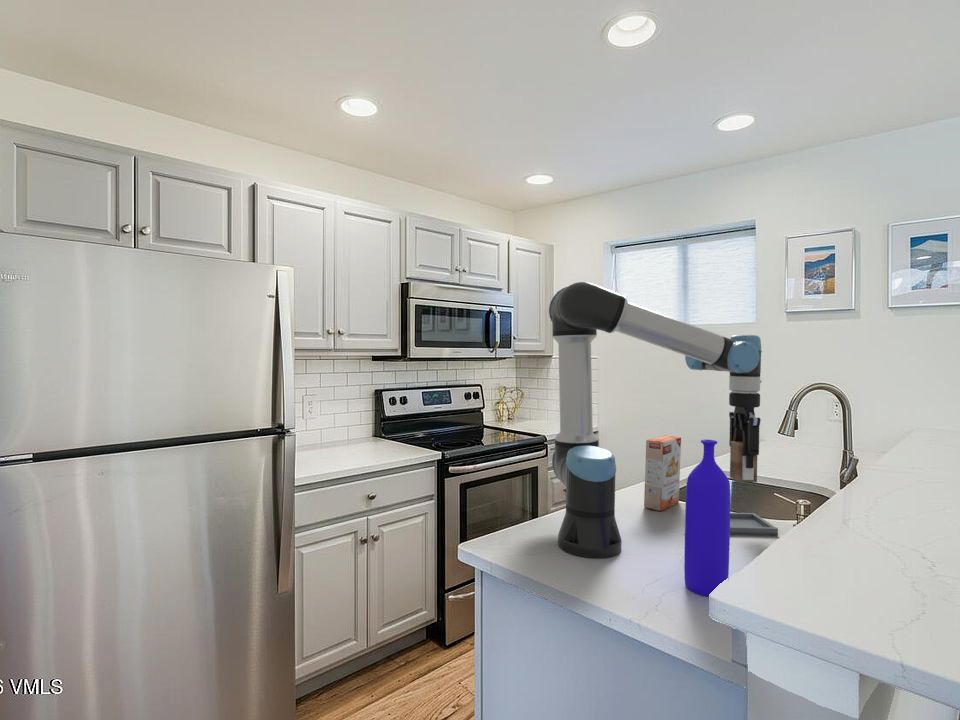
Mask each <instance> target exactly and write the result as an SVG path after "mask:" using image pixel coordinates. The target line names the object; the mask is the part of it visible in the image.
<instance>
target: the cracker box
mask: <svg viewBox="0 0 960 720" xmlns="http://www.w3.org/2000/svg"><path fill="white" fill-rule="evenodd" d="M681 452H682V437H679V436H676V435H667V434H666V435H664V434H663V435H662V436H658V437H653V438H649V439H646V441H645V467H644V470H645V471H644V473H645V474H644V494H643V495H644V496H643V498H644V500H643V501H644V502H643V508H644V509H648V510H653V511H657V512H662V511H665V510H666V509H668V508H670V507H672V506H674V505H676V504H678V503H679V502H680V501H679V500H680V482H681V481H680V478H681V455H682V454H681Z"/></svg>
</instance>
